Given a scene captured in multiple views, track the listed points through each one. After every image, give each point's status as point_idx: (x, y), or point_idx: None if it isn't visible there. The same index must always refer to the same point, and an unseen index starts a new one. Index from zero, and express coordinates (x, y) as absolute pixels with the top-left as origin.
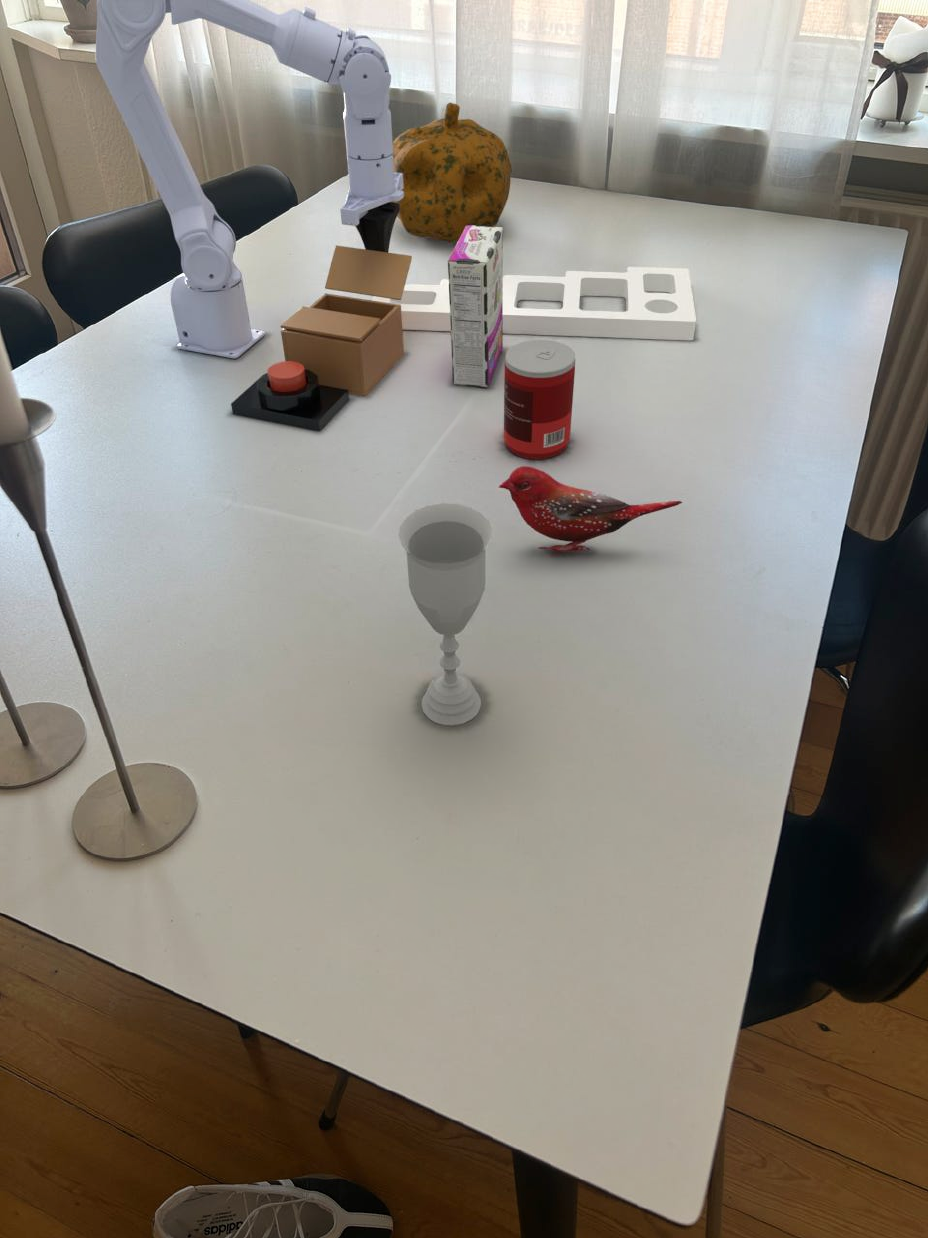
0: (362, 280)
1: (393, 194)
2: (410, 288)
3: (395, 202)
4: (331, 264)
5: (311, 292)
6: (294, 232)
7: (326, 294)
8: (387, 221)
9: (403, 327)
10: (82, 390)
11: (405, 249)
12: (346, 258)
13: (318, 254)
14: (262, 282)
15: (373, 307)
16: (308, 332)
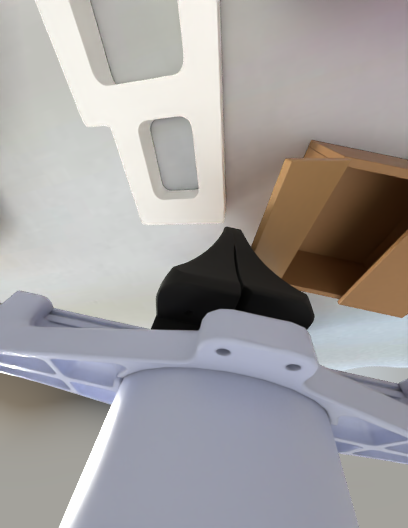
0: (288, 251)
1: (281, 375)
2: (141, 176)
3: (158, 297)
4: None
5: (155, 278)
6: (58, 304)
7: None
8: (285, 288)
9: (224, 163)
10: (332, 364)
11: (13, 214)
12: None
13: (82, 285)
14: (152, 310)
15: None
16: (331, 276)
